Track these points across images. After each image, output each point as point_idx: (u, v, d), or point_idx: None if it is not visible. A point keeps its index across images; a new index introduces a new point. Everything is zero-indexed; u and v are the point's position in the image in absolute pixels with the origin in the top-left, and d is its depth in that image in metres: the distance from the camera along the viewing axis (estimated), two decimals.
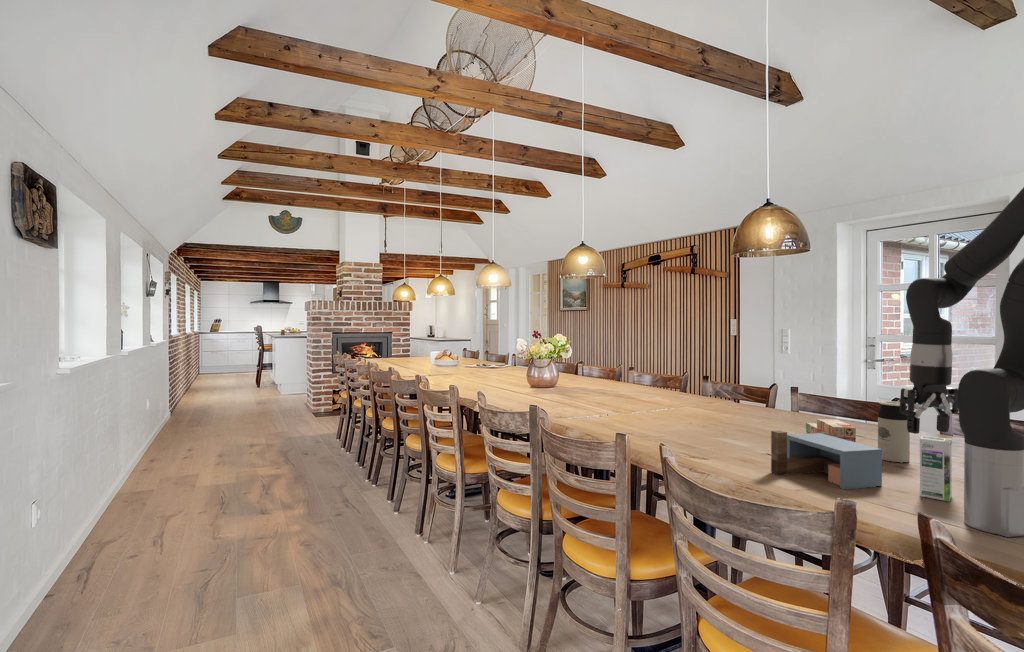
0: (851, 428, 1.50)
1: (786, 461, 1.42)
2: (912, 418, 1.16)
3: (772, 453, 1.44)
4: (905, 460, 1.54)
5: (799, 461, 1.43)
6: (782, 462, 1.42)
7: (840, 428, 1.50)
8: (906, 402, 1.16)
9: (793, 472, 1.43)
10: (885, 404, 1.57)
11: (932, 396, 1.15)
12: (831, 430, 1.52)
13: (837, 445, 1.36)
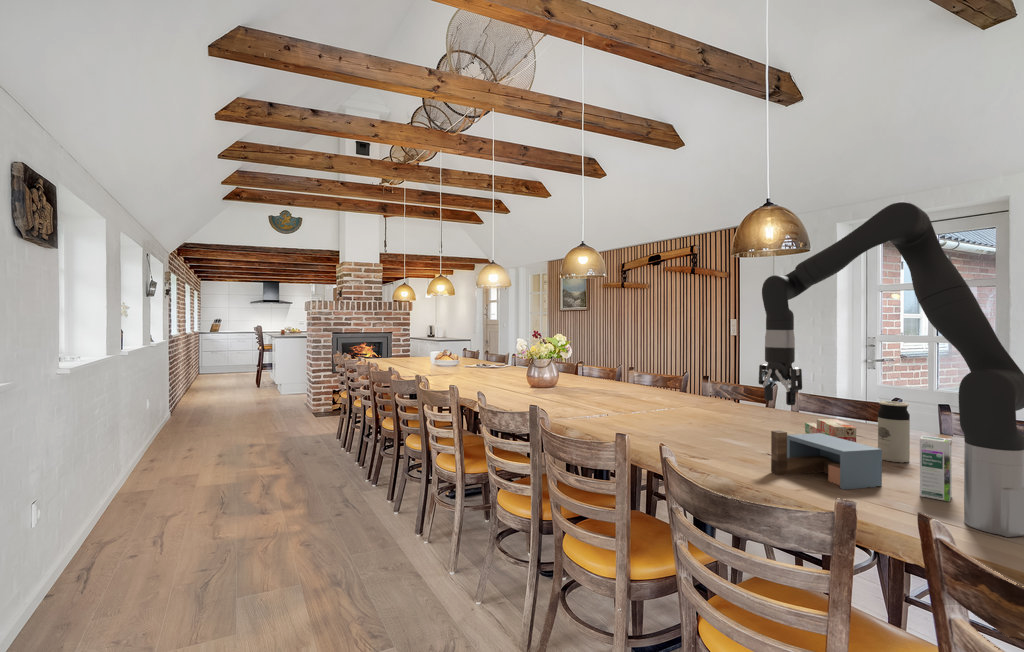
0: (852, 428, 1.50)
1: (786, 461, 1.42)
2: (795, 392, 1.38)
3: (772, 453, 1.44)
4: (905, 460, 1.54)
5: (799, 461, 1.43)
6: (782, 462, 1.42)
7: (841, 428, 1.50)
8: (799, 379, 1.36)
9: (793, 472, 1.43)
10: (885, 404, 1.57)
11: None
12: (831, 430, 1.52)
13: (837, 445, 1.36)
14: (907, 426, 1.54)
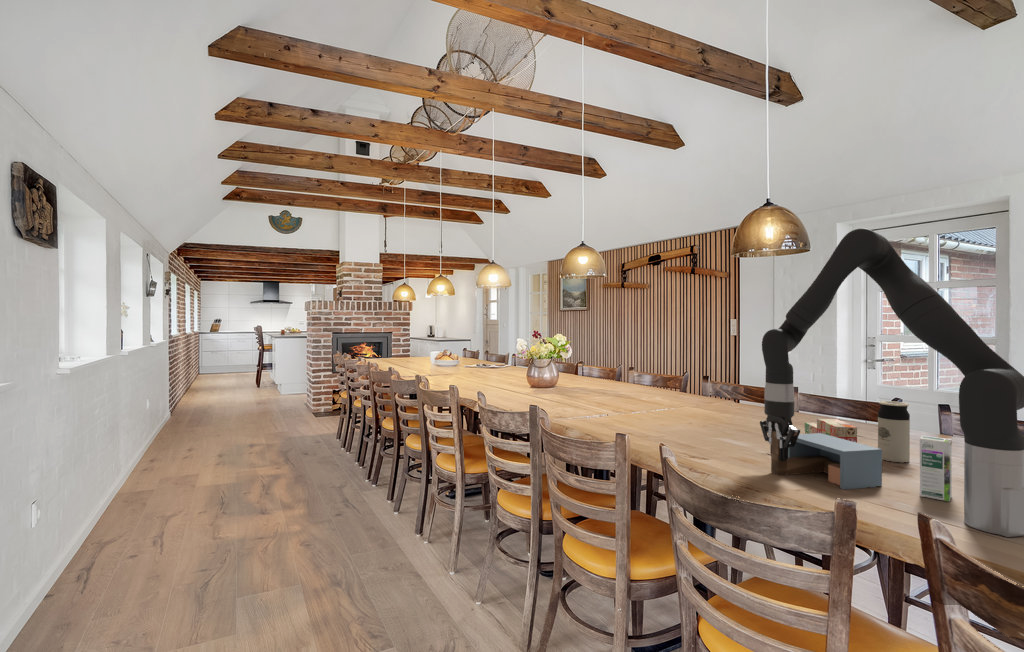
0: (853, 428, 1.50)
1: (786, 461, 1.42)
2: (787, 449, 1.41)
3: (772, 453, 1.44)
4: (905, 460, 1.54)
5: (799, 461, 1.43)
6: (782, 462, 1.42)
7: (842, 428, 1.51)
8: (794, 439, 1.38)
9: (793, 472, 1.43)
10: (885, 404, 1.57)
11: None
12: (832, 430, 1.52)
13: (837, 445, 1.36)
14: (907, 426, 1.54)
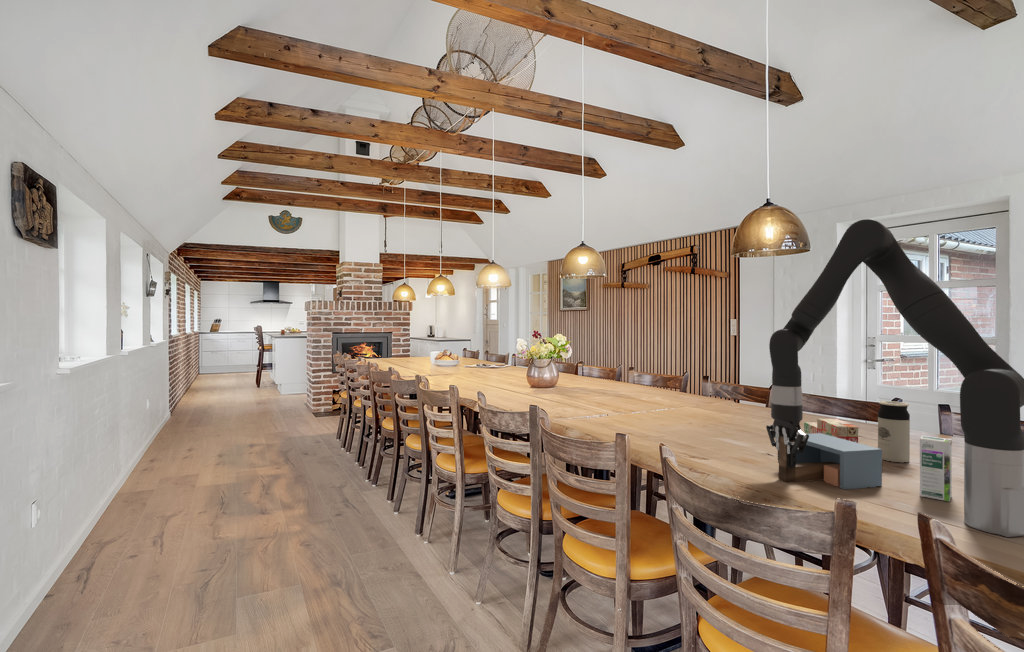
0: (854, 427, 1.51)
1: (795, 467, 1.36)
2: (795, 454, 1.34)
3: (780, 459, 1.37)
4: (905, 460, 1.54)
5: (808, 467, 1.37)
6: (790, 468, 1.35)
7: (843, 427, 1.51)
8: (802, 445, 1.32)
9: (802, 479, 1.36)
10: (885, 404, 1.57)
11: None
12: (834, 430, 1.53)
13: (837, 445, 1.36)
14: (907, 426, 1.54)
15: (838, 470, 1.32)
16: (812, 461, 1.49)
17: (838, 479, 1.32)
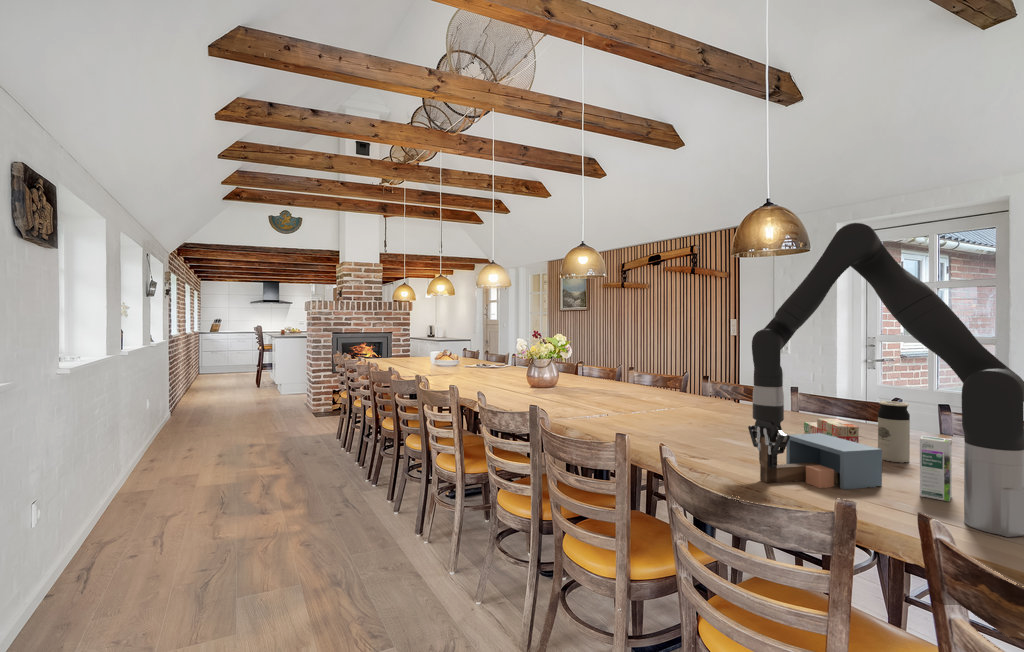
0: (854, 427, 1.51)
1: (776, 468, 1.35)
2: (776, 455, 1.33)
3: (761, 460, 1.36)
4: (905, 460, 1.54)
5: (790, 468, 1.36)
6: (771, 469, 1.34)
7: (844, 427, 1.51)
8: (783, 446, 1.31)
9: (783, 480, 1.35)
10: (885, 404, 1.57)
11: None
12: (834, 430, 1.53)
13: (837, 445, 1.36)
14: (907, 426, 1.54)
15: (820, 471, 1.31)
16: (812, 461, 1.49)
17: (820, 480, 1.31)
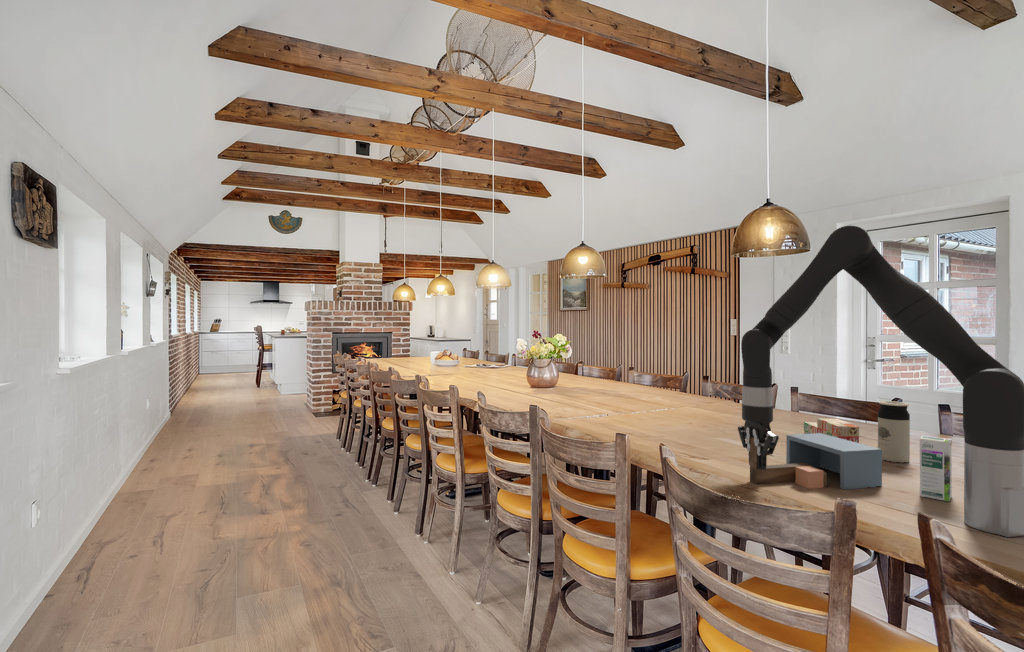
0: (854, 427, 1.51)
1: (766, 469, 1.34)
2: (765, 456, 1.33)
3: (751, 461, 1.35)
4: (905, 460, 1.54)
5: (779, 469, 1.35)
6: (761, 470, 1.34)
7: (844, 427, 1.51)
8: (772, 446, 1.30)
9: (773, 481, 1.34)
10: (885, 404, 1.57)
11: None
12: (835, 430, 1.53)
13: (837, 445, 1.36)
14: (907, 426, 1.54)
15: (809, 472, 1.30)
16: (812, 461, 1.49)
17: (809, 481, 1.30)
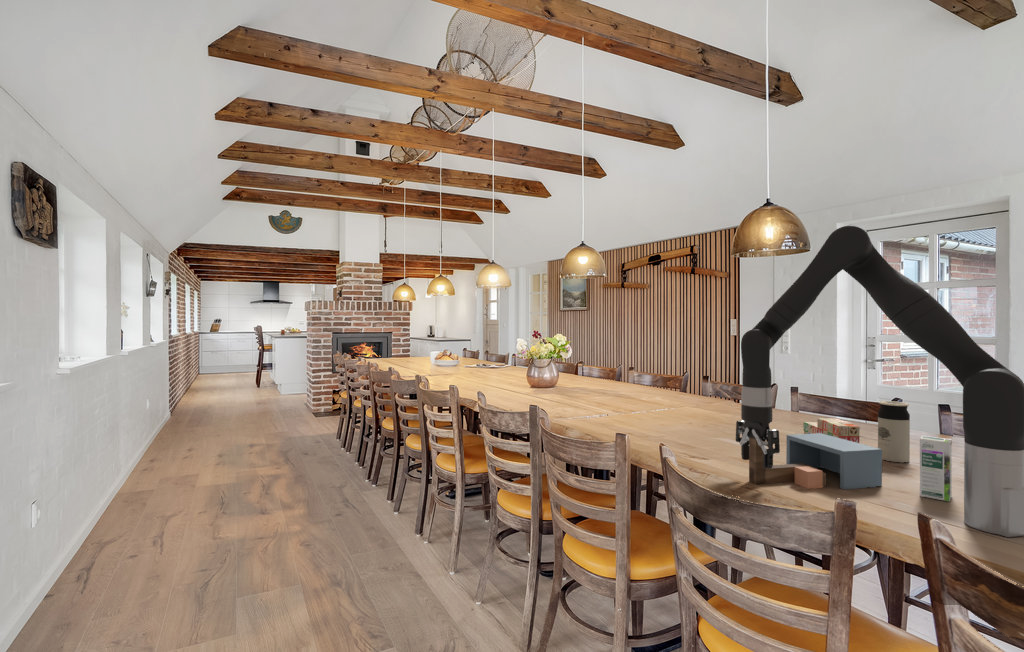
0: (855, 427, 1.51)
1: (765, 469, 1.34)
2: (772, 455, 1.30)
3: (750, 461, 1.35)
4: (905, 460, 1.54)
5: (778, 469, 1.35)
6: (760, 470, 1.34)
7: (845, 427, 1.52)
8: (776, 442, 1.28)
9: (772, 481, 1.34)
10: (885, 404, 1.57)
11: None
12: (835, 429, 1.53)
13: (837, 445, 1.36)
14: (907, 426, 1.54)
15: (808, 472, 1.30)
16: (812, 461, 1.49)
17: (808, 481, 1.30)
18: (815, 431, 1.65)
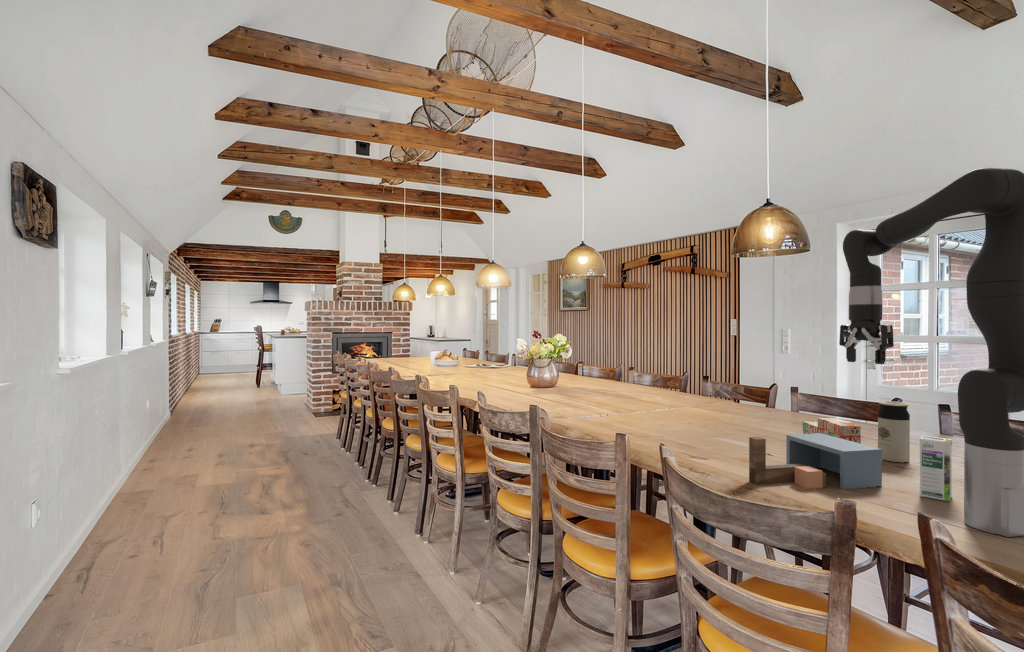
0: (856, 426, 1.52)
1: (765, 469, 1.34)
2: (885, 350, 1.31)
3: (750, 461, 1.35)
4: (905, 460, 1.54)
5: (779, 469, 1.35)
6: (760, 470, 1.34)
7: (846, 427, 1.52)
8: (890, 336, 1.30)
9: (772, 481, 1.34)
10: (885, 404, 1.57)
11: None
12: (837, 429, 1.54)
13: (837, 445, 1.36)
14: (907, 426, 1.54)
15: (808, 472, 1.30)
16: (812, 461, 1.49)
17: (808, 481, 1.30)
18: (815, 431, 1.66)
